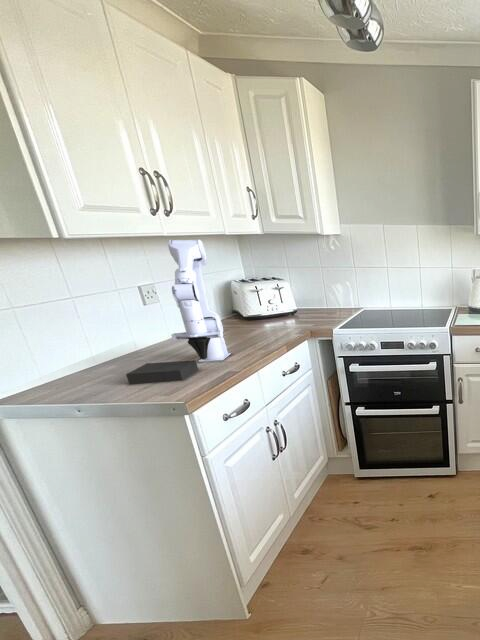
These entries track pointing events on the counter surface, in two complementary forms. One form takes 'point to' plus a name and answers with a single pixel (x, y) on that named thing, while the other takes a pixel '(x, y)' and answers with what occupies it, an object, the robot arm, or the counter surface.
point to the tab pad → (179, 370)
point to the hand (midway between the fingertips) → (204, 358)
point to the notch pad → (148, 373)
